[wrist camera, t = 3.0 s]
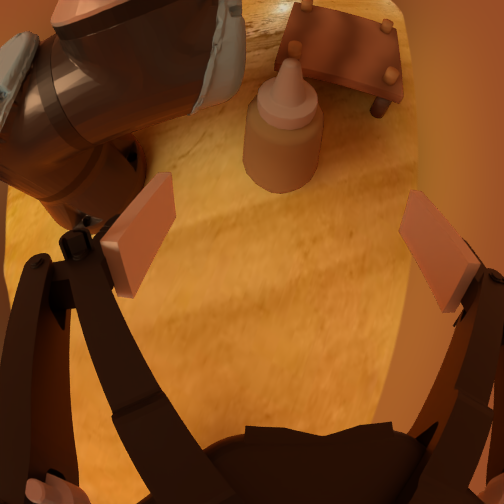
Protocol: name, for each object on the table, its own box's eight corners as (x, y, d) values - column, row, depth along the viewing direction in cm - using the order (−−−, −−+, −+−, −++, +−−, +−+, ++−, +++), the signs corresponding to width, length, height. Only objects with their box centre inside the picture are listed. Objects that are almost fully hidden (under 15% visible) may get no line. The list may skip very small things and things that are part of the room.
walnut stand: (273, 94, 36) (275, 51, 28) (291, 30, 38) (295, -8, 30) (386, 123, 35) (409, 87, 27) (384, 54, 37) (399, 20, 29)
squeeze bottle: (264, 215, 33) (267, 127, 16) (232, 158, 35) (211, 49, 17) (325, 185, 34) (375, 89, 16) (291, 133, 35) (308, 21, 17)
